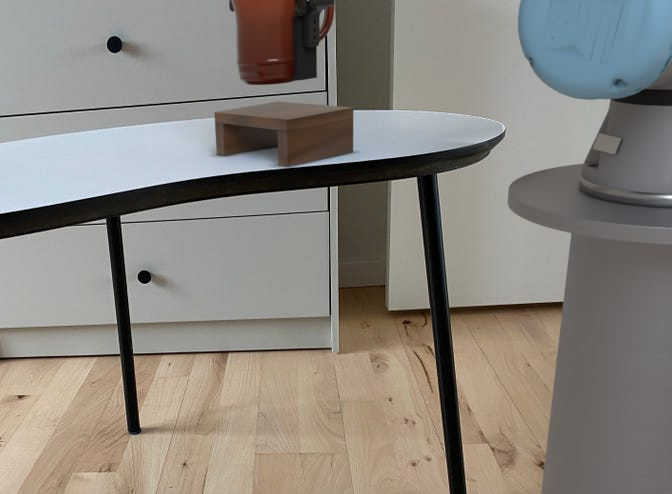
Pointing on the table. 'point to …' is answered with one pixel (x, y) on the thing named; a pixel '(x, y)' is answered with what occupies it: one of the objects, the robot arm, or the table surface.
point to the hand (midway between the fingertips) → (280, 77)
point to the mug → (268, 39)
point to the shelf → (286, 131)
